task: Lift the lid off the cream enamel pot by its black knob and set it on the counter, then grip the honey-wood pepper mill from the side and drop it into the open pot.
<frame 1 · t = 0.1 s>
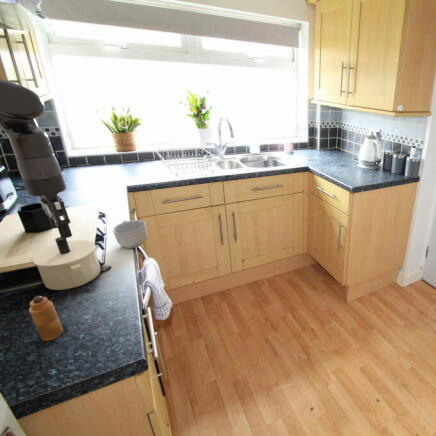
hand: (62, 232, 85), 22 cm above the worktop, tool pointing down, fingers open, 8 cm apart
pot: (73, 276, 104), on the worktop
pepper mill: (52, 334, 81), on the worktop
teacup: (133, 243, 125), on the worktop
pot lid: (65, 253, 100), point 8 cm above the worktop, touching pot
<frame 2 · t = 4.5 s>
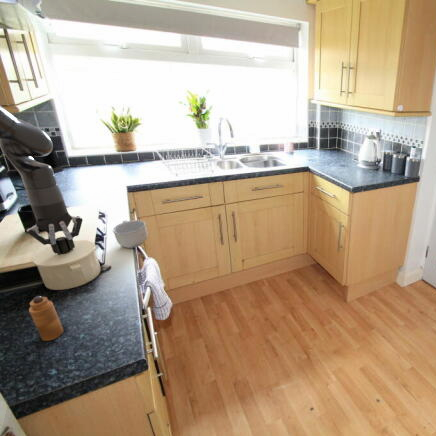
hand: (65, 251, 100), 9 cm above the worktop, tool pointing down, fingers closed on pot lid, 2 cm apart
pot lid: (65, 253, 100), point 8 cm above the worktop, touching gripper, pot
everything else where it was.
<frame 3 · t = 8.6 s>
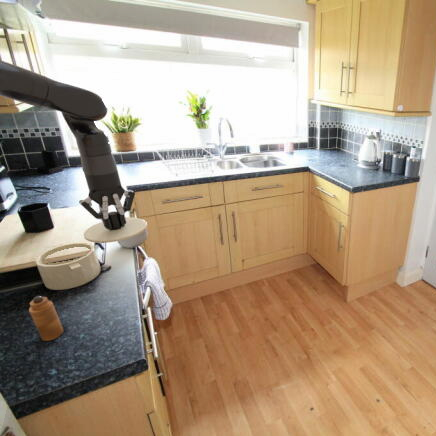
hand: (116, 227, 93), 20 cm above the worktop, tool pointing down, fingers closed on pot lid, 2 cm apart
pot lid: (116, 230, 93), point 19 cm above the worktop, touching gripper
everything else where it was.
when the fingers open (2 cm above the worktop, at t = 12.7 s): pot lid stays where it is, point 1 cm above the worktop.
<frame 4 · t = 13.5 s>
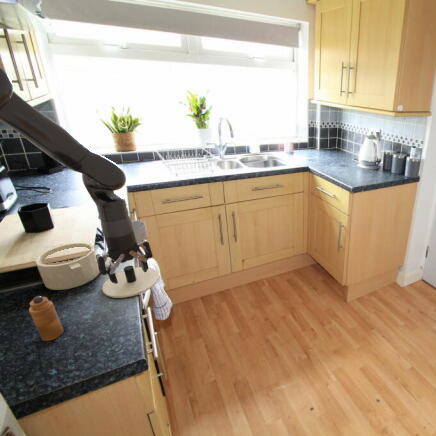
hand: (130, 276, 100), 3 cm above the worktop, tool pointing down, fingers open, 8 cm apart
pot lid: (132, 282, 101), point 1 cm above the worktop
everything else where it was.
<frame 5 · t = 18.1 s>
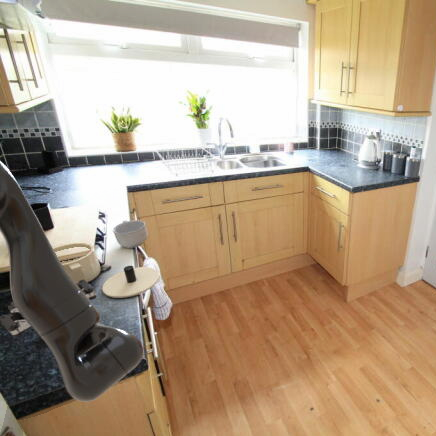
hand: (40, 294, 68), 18 cm above the worktop, tool horizontal, fingers open, 8 cm apart
nothing on the worktop moved.
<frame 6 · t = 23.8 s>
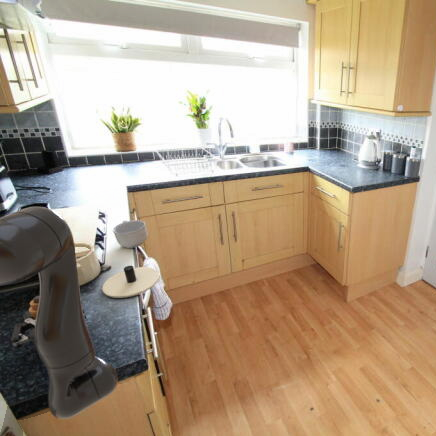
hand: (41, 309, 80), 7 cm above the worktop, tool horizontal, fingers closed on pepper mill, 4 cm apart
pepper mill: (52, 334, 81), on the worktop, touching gripper
everything else where it was.
when the fingers open (12 cm above the worktop, at t = 32.4 s): pepper mill drops 5 cm, resting on pot.
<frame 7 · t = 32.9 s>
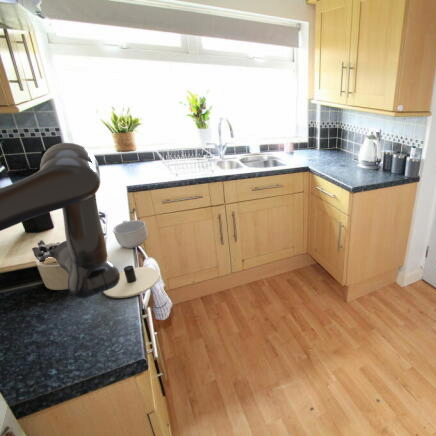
hand: (59, 238, 99), 13 cm above the worktop, tool horizontal, fingers open, 8 cm apart
pepper mill: (73, 274, 103), point 1 cm above the worktop, tilted 7°, touching pot
everything else where it was.
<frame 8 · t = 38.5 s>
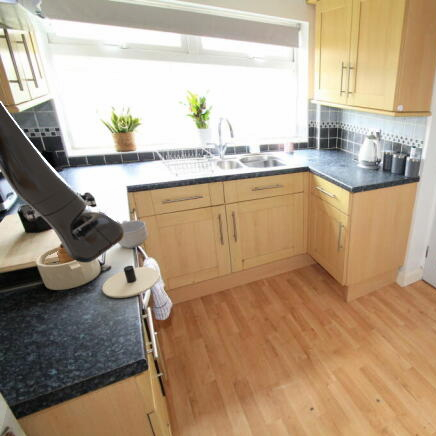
hand: (53, 198, 85), 30 cm above the worktop, tool horizontal, fingers open, 8 cm apart
pepper mill: (74, 274, 104), resting on pot
everything else where it was.
at the end: pot lid inside the target area (0.1 cm from its centre), point 0.6 cm above the worktop; pepper mill inside the target area in the pot (0.1 cm from its centre), point 0.5 cm above the pot's base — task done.
